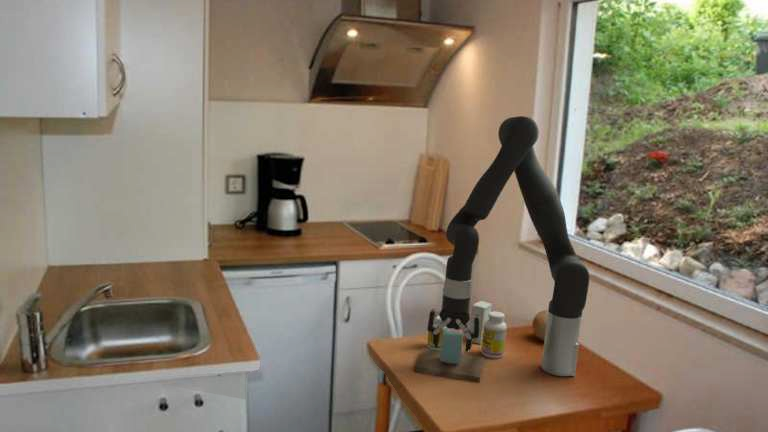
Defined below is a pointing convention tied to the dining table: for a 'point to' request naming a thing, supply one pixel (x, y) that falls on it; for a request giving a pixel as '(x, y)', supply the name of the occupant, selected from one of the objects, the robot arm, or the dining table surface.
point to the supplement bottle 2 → (494, 335)
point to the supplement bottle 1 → (431, 335)
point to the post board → (449, 366)
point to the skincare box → (483, 312)
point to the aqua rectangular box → (451, 347)
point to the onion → (540, 324)
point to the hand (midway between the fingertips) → (451, 348)
